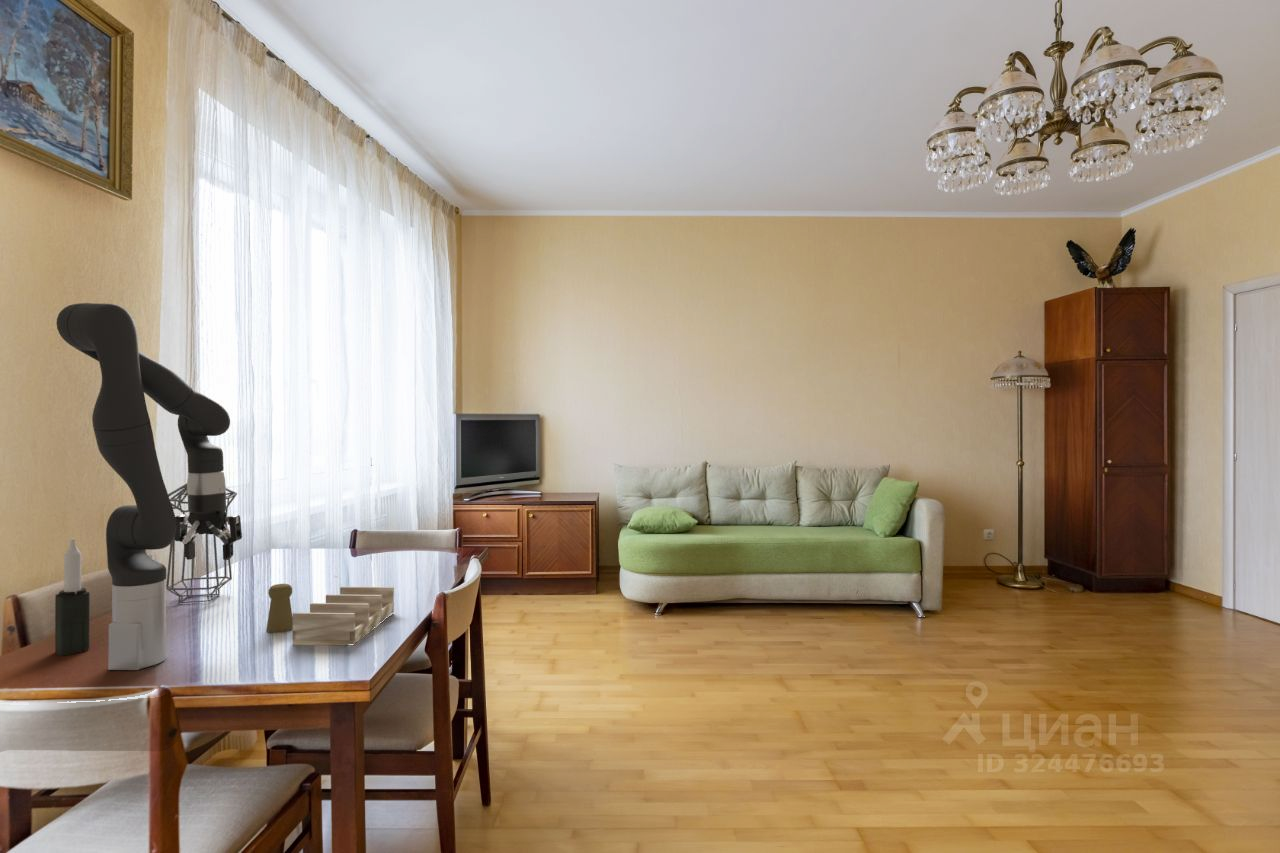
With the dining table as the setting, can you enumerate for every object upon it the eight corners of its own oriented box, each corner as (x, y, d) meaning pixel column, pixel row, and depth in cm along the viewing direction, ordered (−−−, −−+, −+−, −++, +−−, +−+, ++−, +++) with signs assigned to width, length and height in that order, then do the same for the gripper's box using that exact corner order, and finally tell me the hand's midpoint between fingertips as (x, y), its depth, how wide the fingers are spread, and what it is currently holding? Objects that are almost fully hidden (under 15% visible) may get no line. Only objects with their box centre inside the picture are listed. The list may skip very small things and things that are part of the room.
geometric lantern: (239, 591, 202) (239, 474, 202) (218, 606, 187) (219, 479, 187) (180, 594, 199) (180, 475, 199) (154, 608, 183) (154, 479, 183)
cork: (282, 633, 163) (282, 588, 163) (260, 631, 165) (260, 586, 164) (299, 626, 169) (299, 582, 169) (278, 624, 170) (278, 581, 170)
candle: (62, 656, 146) (63, 541, 146) (53, 652, 149) (53, 538, 149) (91, 649, 151) (91, 537, 150) (81, 645, 153) (82, 535, 153)
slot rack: (353, 645, 155) (353, 614, 155) (292, 644, 155) (292, 613, 155) (393, 614, 181) (393, 587, 181) (341, 613, 181) (341, 586, 181)
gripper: (164, 493, 154) (167, 563, 155) (227, 493, 154) (230, 563, 156) (186, 487, 162) (189, 554, 163) (246, 488, 162) (248, 555, 163)
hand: (209, 559), depth 159 cm, fingers open, 8 cm apart
